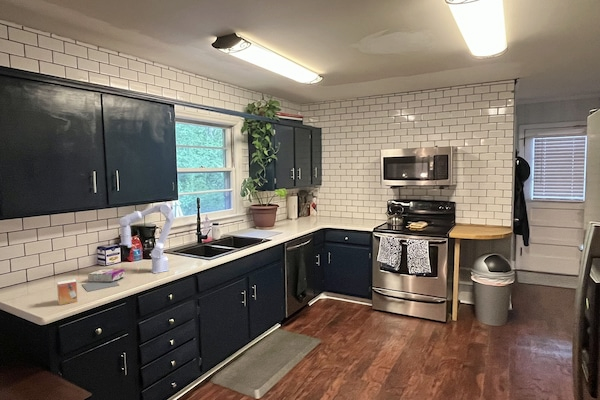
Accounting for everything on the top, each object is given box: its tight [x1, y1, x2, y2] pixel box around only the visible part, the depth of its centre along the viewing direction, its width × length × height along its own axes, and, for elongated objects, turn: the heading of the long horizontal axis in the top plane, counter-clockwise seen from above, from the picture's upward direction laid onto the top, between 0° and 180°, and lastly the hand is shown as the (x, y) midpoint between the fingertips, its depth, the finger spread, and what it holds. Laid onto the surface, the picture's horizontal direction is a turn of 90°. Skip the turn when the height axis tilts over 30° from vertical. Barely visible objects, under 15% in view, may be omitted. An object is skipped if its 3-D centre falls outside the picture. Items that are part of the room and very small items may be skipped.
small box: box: [56, 278, 78, 306], centre depth 185 cm, size 8×6×10 cm
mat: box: [81, 280, 120, 293], centre depth 212 cm, size 16×16×1 cm
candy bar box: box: [87, 268, 126, 283], centre depth 221 cm, size 11×5×16 cm
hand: (127, 257), depth 233 cm, fingers closed
